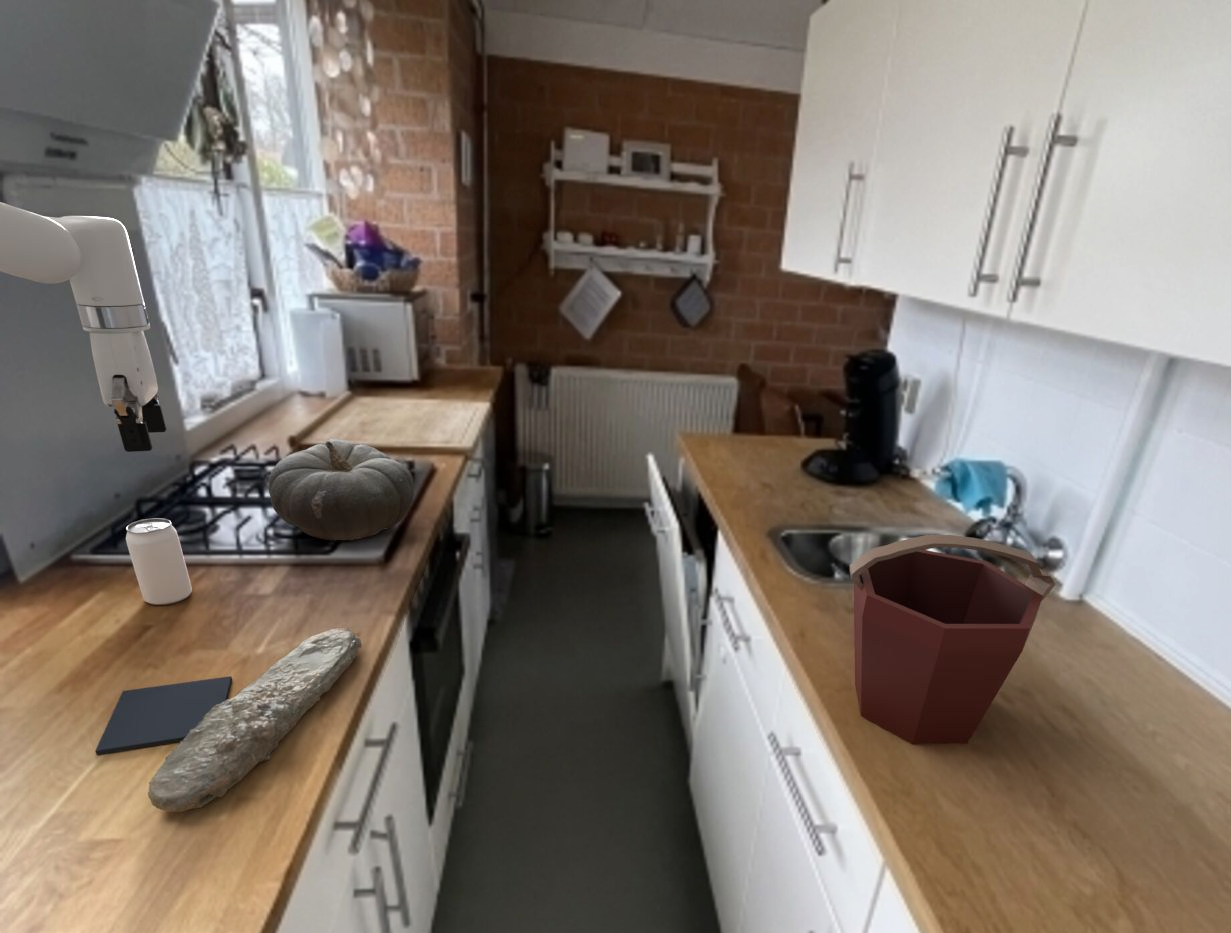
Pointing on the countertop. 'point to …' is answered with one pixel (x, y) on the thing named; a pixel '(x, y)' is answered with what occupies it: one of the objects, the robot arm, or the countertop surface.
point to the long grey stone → (250, 723)
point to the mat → (160, 714)
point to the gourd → (341, 490)
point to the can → (158, 561)
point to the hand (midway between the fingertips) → (147, 441)
